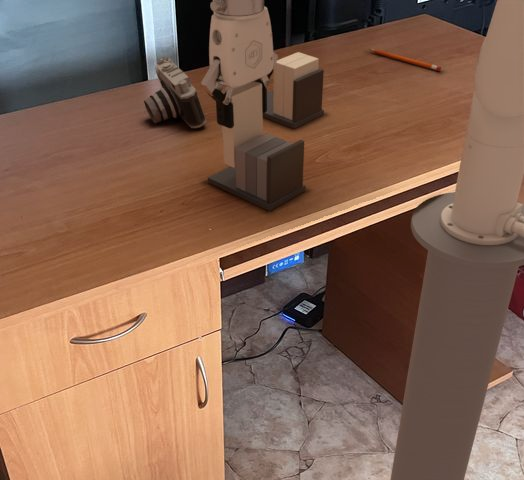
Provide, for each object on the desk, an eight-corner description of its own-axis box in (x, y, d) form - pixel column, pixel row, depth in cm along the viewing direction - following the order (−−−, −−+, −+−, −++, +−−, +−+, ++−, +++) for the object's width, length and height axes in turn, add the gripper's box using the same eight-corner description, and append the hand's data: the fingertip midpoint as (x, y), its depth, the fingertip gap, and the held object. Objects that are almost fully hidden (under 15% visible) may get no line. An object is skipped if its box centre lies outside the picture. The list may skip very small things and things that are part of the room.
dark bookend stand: (323, 114, 154) (327, 58, 147) (294, 129, 149) (295, 71, 142) (270, 95, 162) (271, 41, 154) (240, 108, 156) (239, 52, 149)
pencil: (438, 71, 171) (439, 67, 171) (367, 51, 181) (367, 47, 180) (440, 70, 172) (441, 66, 171) (369, 50, 181) (369, 46, 181)
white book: (263, 153, 132) (262, 83, 125) (234, 168, 128) (231, 96, 121) (252, 149, 134) (250, 79, 126) (223, 163, 130) (220, 92, 122)
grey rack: (305, 191, 131) (307, 140, 125) (269, 211, 126) (269, 159, 120) (244, 164, 138) (243, 115, 132) (207, 182, 133) (205, 132, 127)
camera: (142, 113, 158) (124, 67, 151) (180, 95, 159) (163, 49, 152) (169, 144, 147) (151, 97, 140) (209, 124, 149) (193, 76, 142)
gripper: (214, 21, 108) (221, 142, 120) (296, -7, 118) (295, 107, 129) (177, 11, 112) (187, 129, 124) (259, -16, 122) (261, 96, 133)
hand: (242, 117), depth 126 cm, fingers closed on white book, 7 cm apart
